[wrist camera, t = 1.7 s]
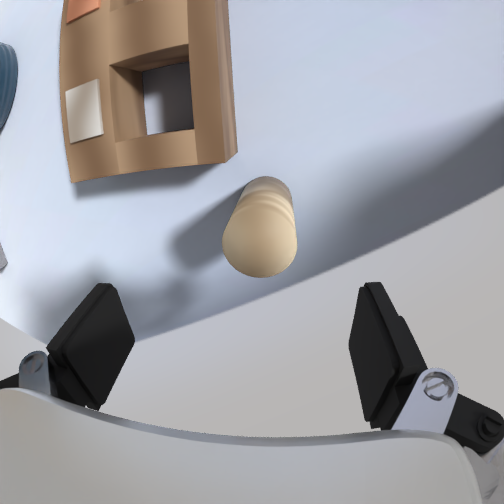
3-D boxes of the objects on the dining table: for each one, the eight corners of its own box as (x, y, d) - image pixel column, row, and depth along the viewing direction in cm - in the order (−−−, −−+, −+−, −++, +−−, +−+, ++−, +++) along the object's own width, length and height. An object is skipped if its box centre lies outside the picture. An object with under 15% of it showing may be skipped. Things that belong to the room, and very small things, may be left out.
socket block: (224, -56, 11) (211, -87, 7) (237, 152, 20) (224, 163, 16) (99, -19, 13) (67, -34, 8) (105, 168, 22) (69, 184, 17)
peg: (291, 175, 21) (297, 209, 14) (292, 224, 23) (296, 277, 16) (239, 177, 21) (218, 210, 14) (243, 224, 23) (225, 277, 16)
